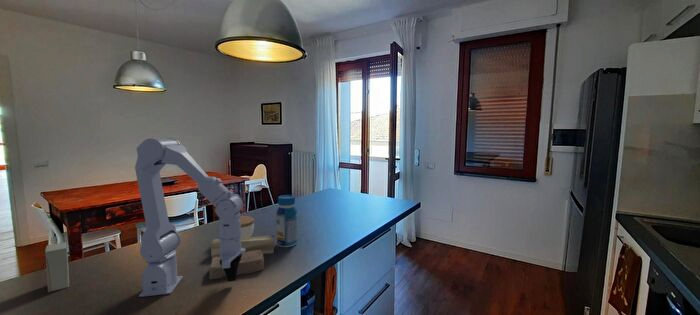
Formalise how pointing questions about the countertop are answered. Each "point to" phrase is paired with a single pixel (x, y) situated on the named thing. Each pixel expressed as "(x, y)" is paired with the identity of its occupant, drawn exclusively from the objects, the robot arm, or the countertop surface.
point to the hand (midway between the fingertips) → (231, 280)
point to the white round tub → (247, 226)
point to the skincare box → (57, 266)
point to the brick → (247, 264)
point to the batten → (248, 245)
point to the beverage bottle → (286, 221)
